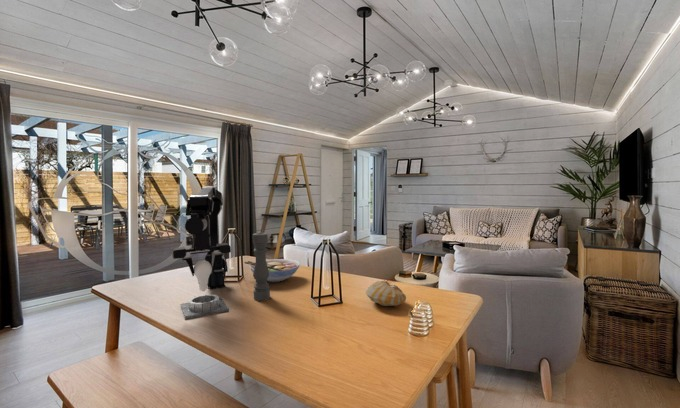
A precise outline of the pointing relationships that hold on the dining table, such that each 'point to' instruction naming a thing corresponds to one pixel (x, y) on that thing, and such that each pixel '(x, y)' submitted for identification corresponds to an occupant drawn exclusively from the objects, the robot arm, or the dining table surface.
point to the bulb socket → (203, 306)
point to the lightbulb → (202, 273)
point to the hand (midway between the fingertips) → (202, 274)
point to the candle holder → (261, 267)
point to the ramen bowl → (279, 269)
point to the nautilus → (385, 294)
